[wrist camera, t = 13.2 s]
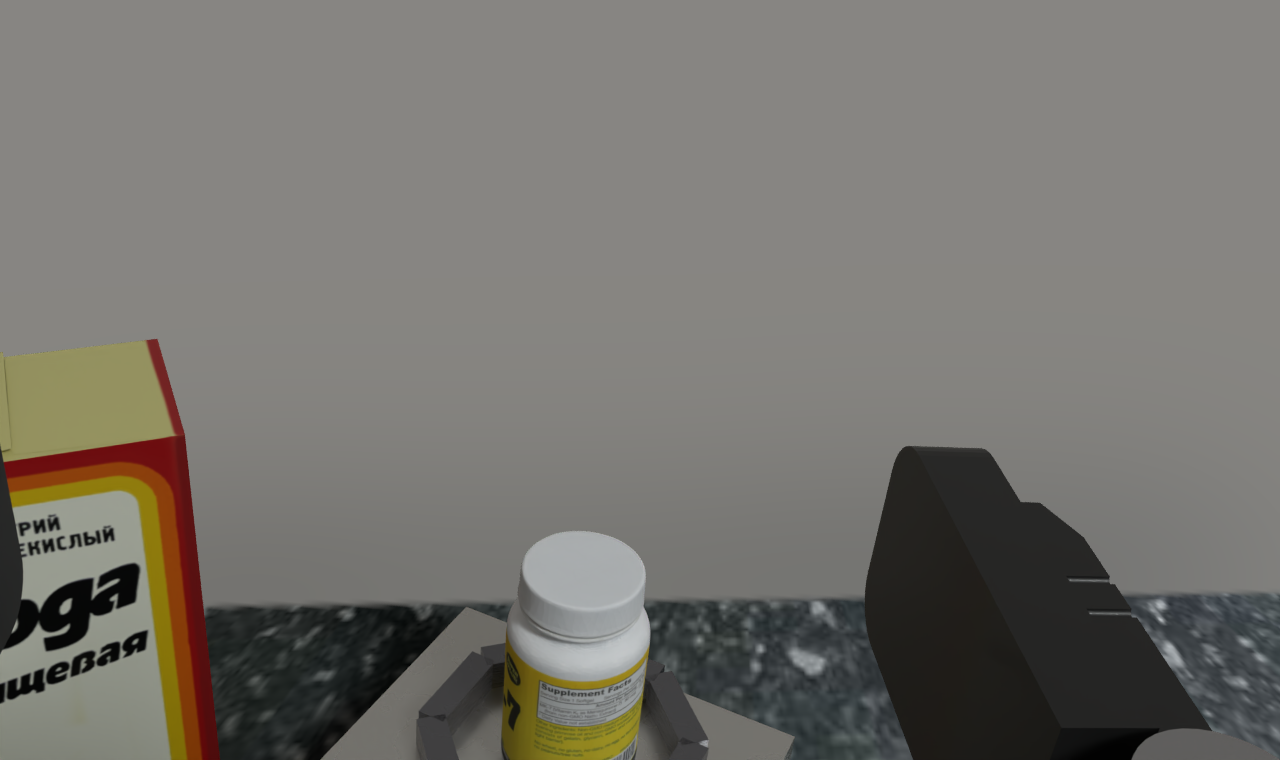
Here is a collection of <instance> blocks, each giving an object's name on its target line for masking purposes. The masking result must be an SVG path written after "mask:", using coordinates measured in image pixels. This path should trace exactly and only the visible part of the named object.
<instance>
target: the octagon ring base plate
mask: <svg viewBox="0 0 1280 760" xmlns="http://www.w3.org/2000/svg"><path fill="white" fill-rule="evenodd" d="M506 628H507V623H506V622H503V621H501V620H498V619H496V618H493V617H491V616H488V615H486V614H483V613H481V612H478V611H476V610H473V609H470V608H468V607H466V608H465V609H464V610H463V611H462V612H461V613H460V614H459V615H458V616H457V617H456V618H455V619H454V620H453V621H452V622H451V624H450V625H449V626H448V627H447V628H446V629H445V630H444V631H443V632H442V633H441V634H440V635H439V636H438V637H437V638H436V639H435V640H434V641H433V642H432V643H431V644H430V646H429V647H428V648H427V649H426V650H425V651H424V652H423V653H422V654H421V655H420V656H419V657H418V658H417V659H416V660H415V661H414V662H413V663H412V664H411V665H410V666H409V668H408V669H407V670H406V671H405V672H404V673H403V674H402V675H401V676H400V677H399V678H398V679H397V680H396V681H395V682H394V683H393V684H392V685H391V686H390V687H389V688H388V690H387V691H386V692H385V693H384V694H383V695H382V696H381V697H380V698H379V699H378V700H377V701H376V702H375V703H374V704H373V705H372V706H371V707H370V708H369V709H368V710H367V712H366V713H365V714H364V715H363V716H362V717H361V718H360V719H359V720H358V721H357V722H356V723H355V724H354V725H353V726H352V727H351V728H350V729H349V730H348V731H347V732H346V734H345V735H344V736H343V737H342V738H341V739H340V740H339V741H338V742H337V743H336V744H335V745H334V746H333V747H332V748H331V749H330V750H329V751H328V752H327V753H326V754H325V755H324V757H323V758H322V759H321V760H502V754H501V731H502V713H503V690H504V675H505V643H506ZM664 668H665V665H663V664H660V663H658V662H655V661H653V660H650V659H648V660H647V668H646V675H645V683H644V690H643V699H642V706H641V715H640V722H639V731H638V740H637V751H636V756H635V760H790V757H791V753H792V748H793V743H794V738H795V737H794V736H791V735H789V734H786V733H784V732H781V731H779V730H776V729H774V728H771V727H768V726H766V725H763V724H761V723H758V722H756V721H753V720H751V719H748V718H746V717H743V716H741V715H738V714H736V713H733V712H731V711H728V710H726V709H723V708H721V707H718V706H715V705H713V704H710V703H708V702H705V701H703V700H700V699H698V698H695V697H693V696H690V695H688V694H685V693H683V691H682V689H681V687H680V685H679V683H678V681H677V680H676V678H675V676H674V674H673V672H672V671H670V672H664Z"/></svg>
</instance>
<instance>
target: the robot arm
mask: <svg viewBox="0 0 1280 760" xmlns="http://www.w3.org/2000/svg"><path fill="white" fill-rule="evenodd" d="M1109 577H1110V576H1109V575H1108V573H1107V572H1106V570H1105V569H1104V568H1103V566H1102V564H1101V563H1100V561H1099V560H1098V558H1097V557H1096V555H1095V554H1094V552H1093V551H1092V549H1091V548H1090V546H1089V545H1088V543H1087V542H1086V541H1085V539H1084V537H1082V536H1081V535H1080V534H1079V533H1077V532H1076V531H1075V530H1074V529H1072V528H1071V527H1070V526H1069V525H1067V524H1066V523H1065V522H1063V521H1062V520H1061V519H1060V518H1058V517H1057V516H1056V515H1054V514H1053V513H1052V512H1051V511H1050V510H1048V509H1047V508H1046V507H1044V506H1043V505H1042V504H1041V503H1029V502H1020V500H1019V499H1018V497H1017V495H1016V494H1015V492H1014V491H1013V489H1012V487H1011V486H1010V484H1009V482H1008V481H1007V479H1006V478H1005V476H1004V474H1003V473H1002V471H1001V469H1000V468H999V466H998V465H997V463H996V461H995V460H994V458H993V457H992V455H991V454H990V453H989V452H988V451H987V450H985V449H982V448H952V447H920V446H906V447H904V448H903V449H902V450H901V451H900V452H899V454H898V456H897V458H896V460H895V463H894V466H893V469H892V473H891V478H890V482H889V486H888V490H887V495H886V499H885V503H884V507H883V511H882V516H881V520H880V524H879V528H878V533H877V537H876V541H875V545H874V550H873V554H872V558H871V562H870V567H869V570H868V575H867V580H866V589H865V617H866V626H867V632H868V637H869V641H870V644H871V647H872V650H873V652H874V655H875V658H876V660H877V663H878V666H879V669H880V671H881V674H882V677H883V679H884V682H885V685H886V687H887V690H888V693H889V695H890V698H891V701H892V704H893V706H894V709H895V712H896V714H897V717H898V720H899V722H900V725H901V728H902V731H903V733H904V736H905V739H906V741H907V744H908V747H909V749H910V752H911V755H912V757H913V760H1280V759H1278V758H1276V757H1275V756H1273V755H1271V754H1270V753H1268V752H1266V751H1265V750H1263V749H1261V748H1258V747H1256V746H1254V745H1252V744H1250V743H1248V742H1245V741H1243V740H1240V739H1238V738H1235V737H1232V736H1229V735H1225V734H1221V733H1218V732H1214V731H1212V730H1211V728H1210V727H1209V725H1208V724H1207V722H1206V721H1205V719H1204V718H1203V716H1202V715H1201V713H1200V712H1199V710H1198V709H1197V707H1196V706H1195V704H1194V703H1193V701H1192V700H1191V698H1190V697H1189V695H1188V694H1187V692H1186V691H1185V689H1184V688H1183V686H1182V685H1181V683H1180V682H1179V680H1178V679H1177V677H1176V676H1175V674H1174V673H1173V671H1172V670H1171V668H1170V667H1169V665H1168V664H1167V662H1166V661H1165V659H1164V658H1163V656H1162V655H1161V653H1160V652H1159V650H1158V649H1157V647H1156V646H1155V644H1154V643H1153V641H1152V640H1151V638H1150V637H1149V635H1148V634H1147V632H1146V631H1145V629H1144V628H1143V626H1142V625H1141V623H1140V622H1139V620H1138V619H1137V618H1132V617H1131V608H1130V607H1129V605H1128V604H1127V602H1126V600H1125V599H1124V597H1123V596H1122V594H1121V593H1120V591H1119V590H1118V589H1117V587H1116V585H1115V584H1110V583H1109ZM22 590H23V562H22V555H21V550H20V544H19V539H18V534H17V529H16V524H15V518H14V513H13V508H12V503H11V498H10V493H9V487H8V482H7V477H6V472H5V467H4V461H3V456H2V451H1V446H0V654H1V652H2V650H3V648H4V646H5V644H6V642H7V640H8V639H9V637H10V635H11V633H12V630H13V628H14V626H15V623H16V620H17V616H18V613H19V609H20V604H21V598H22Z"/></svg>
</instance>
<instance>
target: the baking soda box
mask: <svg viewBox="0 0 1280 760" xmlns="http://www.w3.org/2000/svg"><path fill="white" fill-rule="evenodd" d="M0 446H1V451H2V456H3V461H4V467H5V472H6V477H7V482H8V487H9V493H10V498H11V503H12V508H13V513H14V518H15V524H16V529H17V534H18V539H19V544H20V550H21V555H22V562H23V590H22V598H21V604H20V609H19V613H18V616H17V620H16V623H15V626H14V628H13V630H12V633H11V635H10V637H9V639H8V640H7V642H6V644H5V646H4V648H3V650H2V652H1V654H0V760H220V758H219V749H218V739H217V730H216V721H215V712H214V702H213V693H212V684H211V674H210V665H209V656H208V646H207V637H206V628H205V618H204V609H203V600H202V591H201V581H200V572H199V563H198V553H197V544H196V535H195V526H194V516H193V507H192V498H191V488H190V479H189V469H188V460H187V451H186V441H185V434H184V430H183V427H182V424H181V420H180V416H179V413H178V409H177V406H176V403H175V399H174V395H173V392H172V388H171V385H170V381H169V378H168V374H167V371H166V367H165V364H164V360H163V357H162V354H161V350H160V347H159V343H158V340H157V339H152V340H144V341H136V342H128V343H119V344H111V345H102V346H94V347H85V348H77V349H69V350H60V351H52V352H43V353H35V354H26V355H18V356H10V357H3V352H0Z"/></svg>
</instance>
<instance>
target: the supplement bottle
mask: <svg viewBox="0 0 1280 760" xmlns="http://www.w3.org/2000/svg"><path fill="white" fill-rule="evenodd" d="M645 581H646V573H645V567H644V564H643V562H642V560H641V559H640V557H639V556H638V555H637V553H636V552H635V551H634V550H633V549H631V548H630V547H629V546H628V545H626V544H625V543H623V542H621V541H620V540H617V539H615V538H613V537H610V536H607V535H604V534H600V533H595V532H588V531H568V532H561V533H557V534H553V535H550V536H548V537H546V538H543V539H542V540H540V541H538V542H537V543H535V544H534V545H533V546H532V547H531V548H530V549H529V550H528V551H527V553H526V554H525V556H524V558H523V561H522V565H521V573H520V582H519V587H518V598H517V599H516V601H515V602H514V604H513V606H512V607H511V610H510V613H509V616H508V621H507V628H506V643H505V675H504V690H503V713H502V731H501V754H502V760H635V756H636V751H637V740H638V731H639V722H640V715H641V706H642V699H643V690H644V683H645V675H646V668H647V660H648V652H649V643H650V625H649V620H648V616H647V614H646V611H645V609H644V607H643V605H644V591H645Z"/></svg>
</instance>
